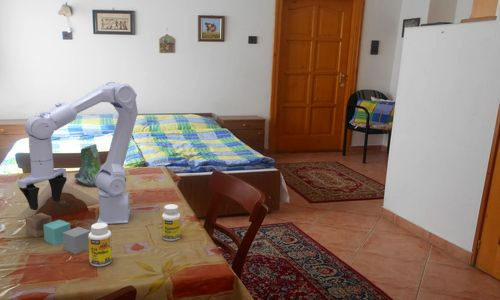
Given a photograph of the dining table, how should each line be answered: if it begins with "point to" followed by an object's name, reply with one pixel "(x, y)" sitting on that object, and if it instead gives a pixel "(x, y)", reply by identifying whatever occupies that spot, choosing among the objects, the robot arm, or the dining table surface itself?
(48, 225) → the teal block
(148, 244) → the dining table surface
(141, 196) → the dining table surface
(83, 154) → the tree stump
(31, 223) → the tan cube
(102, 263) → the supplement bottle
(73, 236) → the slate block
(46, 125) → the robot arm
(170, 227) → the supplement bottle
